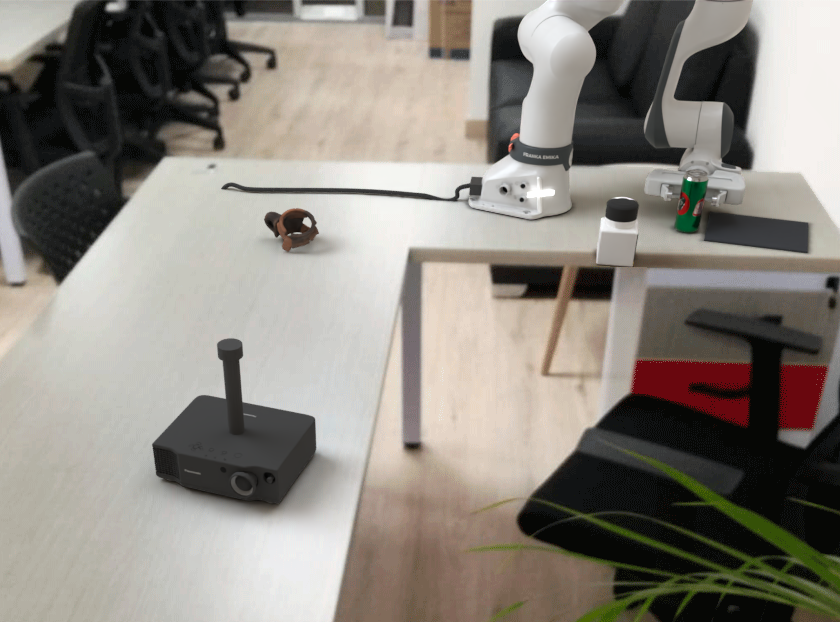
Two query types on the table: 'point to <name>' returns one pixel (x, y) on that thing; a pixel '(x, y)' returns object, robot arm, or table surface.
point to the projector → (235, 442)
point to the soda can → (691, 201)
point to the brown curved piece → (292, 227)
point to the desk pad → (757, 232)
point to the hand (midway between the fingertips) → (691, 200)
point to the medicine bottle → (618, 233)
